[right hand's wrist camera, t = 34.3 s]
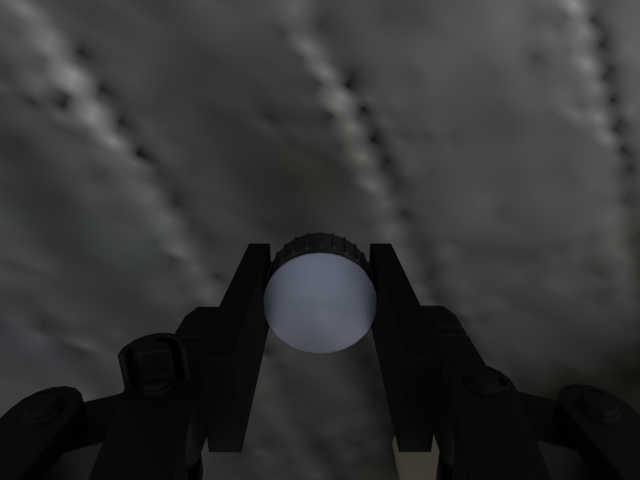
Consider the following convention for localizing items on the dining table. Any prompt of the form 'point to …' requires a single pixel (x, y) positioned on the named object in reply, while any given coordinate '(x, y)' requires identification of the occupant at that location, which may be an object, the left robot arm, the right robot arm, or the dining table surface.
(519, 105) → the dining table surface
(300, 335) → the cap
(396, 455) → the bottle
